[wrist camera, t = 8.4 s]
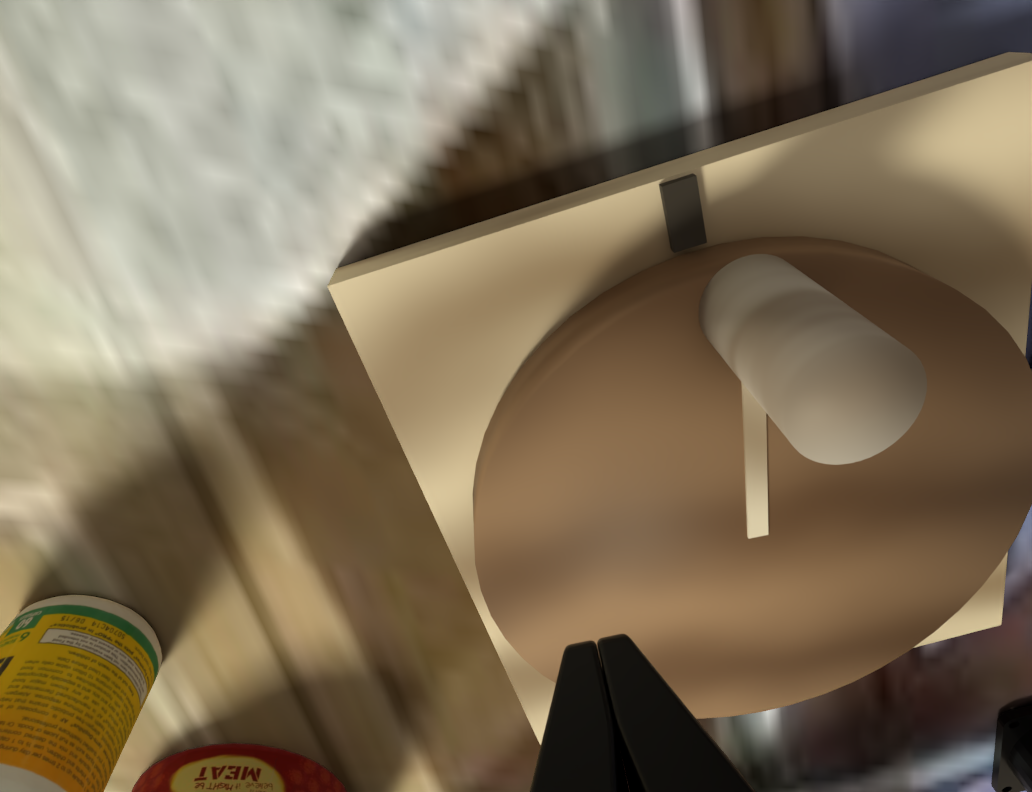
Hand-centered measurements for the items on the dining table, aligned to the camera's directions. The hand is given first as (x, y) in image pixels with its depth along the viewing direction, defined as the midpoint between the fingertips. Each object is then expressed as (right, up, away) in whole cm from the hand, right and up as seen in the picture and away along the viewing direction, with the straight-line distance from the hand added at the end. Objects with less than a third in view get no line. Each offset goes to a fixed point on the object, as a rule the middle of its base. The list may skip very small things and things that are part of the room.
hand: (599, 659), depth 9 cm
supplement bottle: (-17, -6, +17) cm, 24 cm away
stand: (+6, +1, +15) cm, 16 cm away
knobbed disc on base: (+6, 0, +13) cm, 14 cm away
